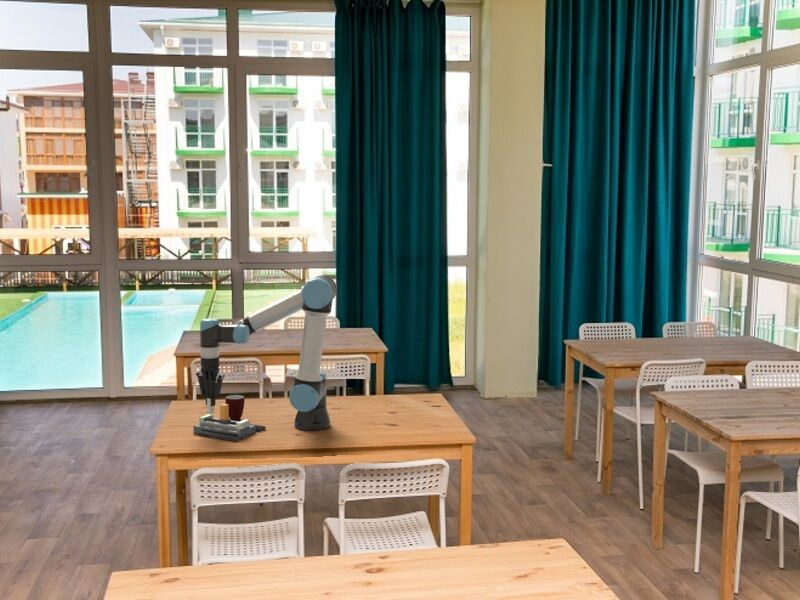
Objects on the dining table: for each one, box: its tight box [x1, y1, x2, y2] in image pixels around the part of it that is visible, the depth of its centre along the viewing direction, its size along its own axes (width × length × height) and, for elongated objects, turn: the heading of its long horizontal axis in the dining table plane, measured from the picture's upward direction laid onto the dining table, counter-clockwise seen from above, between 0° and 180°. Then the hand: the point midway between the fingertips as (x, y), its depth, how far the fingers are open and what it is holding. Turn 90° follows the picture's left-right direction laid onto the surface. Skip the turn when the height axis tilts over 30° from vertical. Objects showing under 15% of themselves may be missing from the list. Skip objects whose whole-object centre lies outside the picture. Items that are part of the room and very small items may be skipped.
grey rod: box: [256, 426, 263, 432], centre depth 365 cm, size 24×2×2 cm, turn 65°
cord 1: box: [197, 431, 239, 442], centre depth 350 cm, size 20×2×2 cm, turn 63°
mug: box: [224, 394, 245, 422], centre depth 377 cm, size 10×8×10 cm
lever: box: [217, 403, 232, 425], centre depth 356 cm, size 4×3×8 cm
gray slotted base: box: [192, 413, 257, 441], centre depth 357 cm, size 22×12×6 cm, turn 65°
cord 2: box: [250, 423, 267, 431], centre depth 367 cm, size 25×2×2 cm, turn 68°
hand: (210, 413), depth 359 cm, fingers closed
